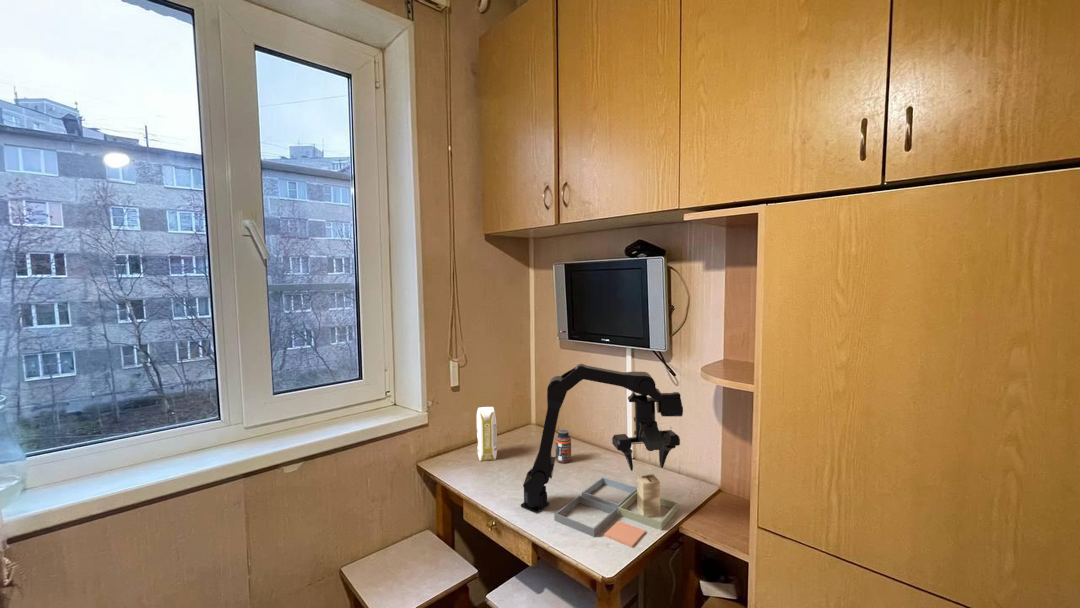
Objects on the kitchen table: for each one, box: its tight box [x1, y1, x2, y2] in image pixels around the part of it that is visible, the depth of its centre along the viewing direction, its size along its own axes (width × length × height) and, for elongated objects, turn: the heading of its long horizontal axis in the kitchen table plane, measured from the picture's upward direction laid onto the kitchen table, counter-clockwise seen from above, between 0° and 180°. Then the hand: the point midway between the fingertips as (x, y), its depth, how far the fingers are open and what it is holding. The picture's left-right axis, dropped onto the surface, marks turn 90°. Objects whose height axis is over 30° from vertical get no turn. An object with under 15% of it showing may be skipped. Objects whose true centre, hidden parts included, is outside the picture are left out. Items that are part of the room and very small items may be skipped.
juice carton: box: [476, 406, 498, 462], centre depth 163 cm, size 8×9×19 cm
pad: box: [604, 520, 646, 548], centre depth 111 cm, size 8×8×1 cm
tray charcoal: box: [553, 494, 618, 538], centre depth 119 cm, size 13×13×2 cm
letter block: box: [636, 473, 661, 518], centre depth 121 cm, size 5×5×10 cm
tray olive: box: [617, 491, 680, 531], centre depth 122 cm, size 13×13×2 cm
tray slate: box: [581, 476, 637, 512], centre depth 131 cm, size 13×13×2 cm
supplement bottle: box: [555, 429, 572, 464], centre depth 159 cm, size 6×6×11 cm
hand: (646, 468), depth 122 cm, fingers open, 9 cm apart
